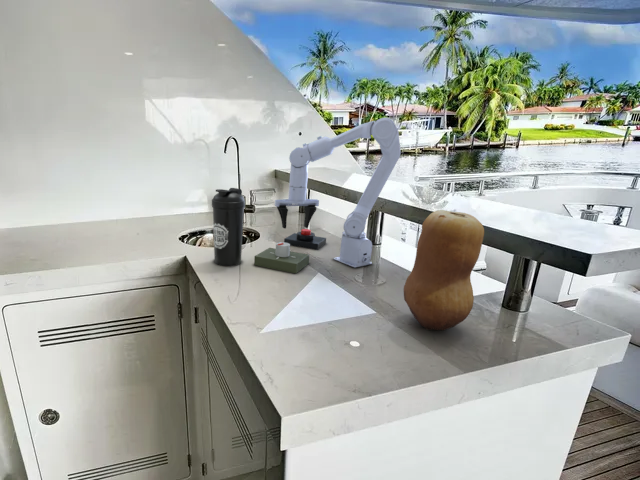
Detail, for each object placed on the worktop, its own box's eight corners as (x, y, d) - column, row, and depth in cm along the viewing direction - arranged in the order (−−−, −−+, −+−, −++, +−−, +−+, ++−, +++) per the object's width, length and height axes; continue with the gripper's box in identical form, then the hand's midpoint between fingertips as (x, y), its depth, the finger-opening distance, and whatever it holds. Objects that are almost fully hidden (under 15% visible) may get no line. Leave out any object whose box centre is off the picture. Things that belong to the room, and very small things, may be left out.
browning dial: (282, 252, 122) (282, 240, 121) (292, 255, 119) (293, 243, 117) (272, 254, 119) (273, 242, 118) (282, 258, 116) (283, 245, 115)
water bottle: (205, 261, 121) (204, 188, 113) (227, 254, 128) (228, 185, 120) (227, 269, 114) (228, 192, 107) (250, 261, 122) (252, 189, 114)
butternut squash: (480, 337, 79) (512, 219, 70) (424, 343, 76) (450, 220, 68) (435, 308, 91) (457, 205, 83) (385, 312, 89) (402, 206, 80)
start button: (312, 234, 142) (312, 229, 142) (308, 236, 139) (309, 231, 139) (302, 232, 144) (303, 228, 143) (299, 234, 141) (299, 230, 140)
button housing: (325, 243, 144) (326, 233, 143) (317, 249, 136) (318, 239, 134) (293, 238, 150) (294, 228, 149) (283, 244, 142) (284, 233, 140)
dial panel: (308, 263, 121) (309, 254, 120) (296, 273, 112) (296, 263, 111) (269, 256, 128) (269, 247, 127) (254, 265, 119) (254, 255, 118)
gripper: (279, 188, 118) (277, 230, 122) (324, 188, 120) (320, 229, 125) (273, 185, 124) (271, 225, 129) (315, 185, 127) (312, 224, 131)
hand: (295, 227), depth 127 cm, fingers open, 7 cm apart
